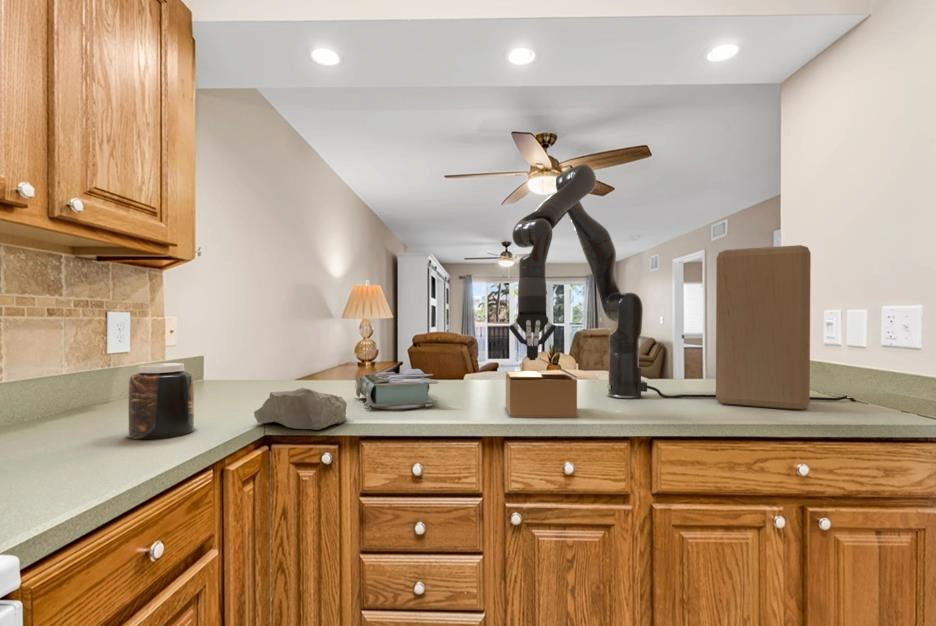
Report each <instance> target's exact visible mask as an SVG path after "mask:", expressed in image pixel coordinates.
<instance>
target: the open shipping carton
mask: <svg viewBox="0 0 936 626" xmlns="http://www.w3.org/2000/svg"><path fill="white" fill-rule="evenodd" d="M505 373H506V374H505V410H506V411H507V414H508V416H509V417H510V418H578V379H577V378H575V377H573V376H571V375H569V374H567V373H539V372H537V371H536V370H522V371H521V370H506V371H505Z"/></svg>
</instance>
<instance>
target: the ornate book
mask: <svg viewBox="0 0 936 626" xmlns="http://www.w3.org/2000/svg"><path fill="white" fill-rule="evenodd" d="M430 376H431V377H432V376H434V373H425V372H424V371H422V370H421V369H420V368H406V369H404V370H402V371H400V372H399V373H396V371H390V372H387V371H381V372H374V373H366V374H365V375H364V374H363V376H361V377H360V374H357V376H356V377H355V383H354V384H355V385H354V386H355V394H356V396H357V397H358V398H360V397H361V396H363V397H364V398H365V400H366V401H365V402H366V405H367V406H369V407H371V408H375V409H381V410H411V409H419V408H424V407H426V408H428V407H431V406H433V405H435V404H438V403H439V401H438V400H436V399H434V398H432V397H431V396H429V391H430V385H435V384H436V385H438V384H446V382H444V381H439V380H436V379H431V378H427V377H430Z"/></svg>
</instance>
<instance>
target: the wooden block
mask: <svg viewBox="0 0 936 626" xmlns="http://www.w3.org/2000/svg"><path fill="white" fill-rule="evenodd" d="M811 254H812V253H811V251H810V249H809V247H808V246H804V245H801V244H797V245H796V244H795V245H783V246H782V245H781V246H766V247H764V246H763V247H751V248H749V247H747V248H736V249H735V248H732V249H724V250H722V251H720V252H718V254H717V256H716V274H715V275H716V279H715V281H716V282H715V283H716V286H715V289H716V290H715V291H716V293H715V295H716V296H715V297H716V300H715V302H716V303H715V304H716V305H715V306H716V307H715V308H716V309H715V329H716V330H715V395H716V397H715V398H716V400H717V402H718V403H720V404H723V405H724V406H725V405H726V406H736V407H737V406H739V407H751V408H765V409H778V410H788V411H789V410H791V411H803V410H806V409H808V406H809V405H810V401H811V400H810V397H811V395H810V392H811V391H810V388H811V386H810V383H811V271H812V269H811V264H812V263H811V259H812V258H811V256H812V255H811Z"/></svg>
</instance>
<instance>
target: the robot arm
mask: <svg viewBox="0 0 936 626" xmlns="http://www.w3.org/2000/svg"><path fill="white" fill-rule="evenodd" d="M554 181H555V182H554V183H555V184H554V185H555V189H556V192H555V193H553V194H551V195H550V196H548V197H547V198H546V199H545V200H544V201H543V202H542V203H541V204H540V205H539V206H538V207H537V208H536V209H535V211H533V212H531V213H529V214H528V215H526V216H524V217H523V218H522V219H520V220H518V221H517V222H516V223H515V225H514V227H513V230H512V234H511V235H512V240H513V242H514V244H515V245H516V246H517V247H519V248H522V249H523V248H525V249H527V248H531V251H530V252H529V253H528V254H526V255H523V256H522V257H521V258H519V261H518V283H517V286H518V287H517V316H516V319H515V321H514V322H513V323H511V324H509V326H508V329H509V330H510V332H511V333H512V334H513V335H514V337H515V338H516V339H517V341H518V342H519V343H520V344H522V345H524V346H526V358H527V359H528V360H529V361H536V359H537V358H539V346H540V345H544V344H545V343H546V342H547V340H548V339H549V338H550V337H551V336H552V334H553V333H554V331H555V330H556V329H557V326H556V325H555V324H553V323H551V322H550V320H549V317H548V315H547V295H548V291H547V281H546V267H547V266H546V264H547V259H548V255H549V251H550V247H551V243H552V240H553V230H554V228H556V226H557V225H558V224H559V223H560V222H561V220H562V219H563V218H564V217H565V216H566V214H567V215H568V217H569V219H570V221H571V223H572V225H573V228H574V230H575V232H576V235H577V238H578V240H579V243H580V246H581V249H582V251H583V254H584V256H585V259H586V261H587V264H588V266H589V268H590V269H589V270H590V272H591V274H592V277H593V279H594V283H595V285H596V288H597V292H598V295H599V299H600V302H601V307H602V309H603V312H604V314H605V316H606V318H608V320H610V321H612V322H614V323H615V322H617V326H616V329H615V330H614V331H612V332H610V333H609V335H608V383H607V384H606V388H607V389H608V393H607V395H608V397H610V398H616V399H638V398H640V399H642V393H647V392H648V390H651V391H653V392H656V393H657V394H658V395H659V396H660V397H661V398H664V399H681V398H716V394H676V395H667V394H663V393H662V392H661V390H660V389H659V388H657V387H654V386H651V385H648V382H646V381H645V380H642V367H640V337H641V335H642V331H643V314H644V310H643V309H644V307H643V302H642V299H641V298H640V296H639V295H638V294H637V293H635V292H621V290H620V288H619V286H618V284H617V280H616V274H615V273H616V261H617V252H616V248H615V245H614V242H613V240H612V237H611V234H610V232H609V231H608V229H607V228H606V227H605V226H603V225H602V224H601V223H600V222H598V221H597V220H596V219H595V218H593V217H592V216H591V215H589V213H588V212H587V211H586V210H585V208H584V206H583V204H582V202H581V200H582V199H583V198H585V197H586V196H588V195H589V194H590V193H592V192H594V190H595V188H596V186H597V177H596V172H594V170H593V168H592V167H591V166H590V165H588V164H585V163H580V164H578V165H575V166H573V167H571V168H569V169H567V170H566V169H565V171H563V172H560V173H559V174H558V175H556V177H555V180H554ZM519 328H520V329H521V331H522V332H523V333H524V335H525V338H524V337H523V336H522V334H520V332H519ZM544 328H545V330H546V331H545V332H544V333H543V334H542V336H541V337H540V333H541V332H542V331H543V330H544ZM847 396H848V395H844V396H838V397H825V396H824V397H823V396H820V397H819V396H810V401H829V402H830V401H831V402H833V401H835V402H837V401H842V400H850V401H851V402H857V400H856V399H855V398H854V397H852V398H847Z"/></svg>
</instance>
